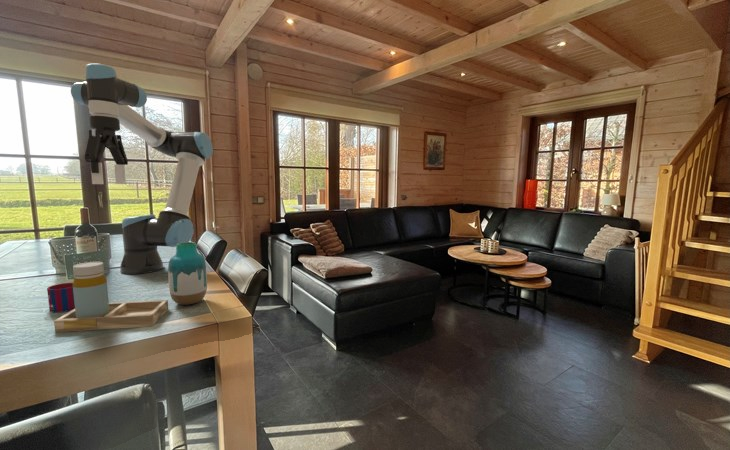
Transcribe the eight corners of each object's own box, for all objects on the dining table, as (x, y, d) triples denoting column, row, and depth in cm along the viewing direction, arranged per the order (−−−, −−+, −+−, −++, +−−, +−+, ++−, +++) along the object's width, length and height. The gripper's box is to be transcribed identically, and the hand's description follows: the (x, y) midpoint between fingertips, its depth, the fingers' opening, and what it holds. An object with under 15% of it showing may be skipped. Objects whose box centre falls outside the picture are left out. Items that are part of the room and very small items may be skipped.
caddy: (83, 314, 94) (82, 304, 94) (168, 309, 99) (167, 299, 98) (54, 332, 83) (53, 321, 83) (151, 326, 87) (150, 315, 87)
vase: (215, 301, 106) (212, 242, 104) (182, 312, 97) (179, 248, 95) (195, 294, 112) (192, 239, 109) (162, 304, 103) (158, 244, 100)
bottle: (90, 325, 86) (85, 268, 84) (69, 322, 87) (63, 266, 85) (116, 314, 92) (111, 262, 90) (95, 312, 94) (91, 260, 92)
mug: (46, 308, 98) (44, 286, 97) (89, 299, 106) (87, 278, 105) (53, 314, 94) (50, 291, 93) (96, 304, 102) (94, 282, 101)
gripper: (112, 122, 117) (117, 183, 120) (64, 107, 93) (71, 184, 95) (136, 123, 118) (140, 183, 121) (94, 109, 94) (101, 184, 97)
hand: (110, 184), depth 108 cm, fingers open, 13 cm apart
